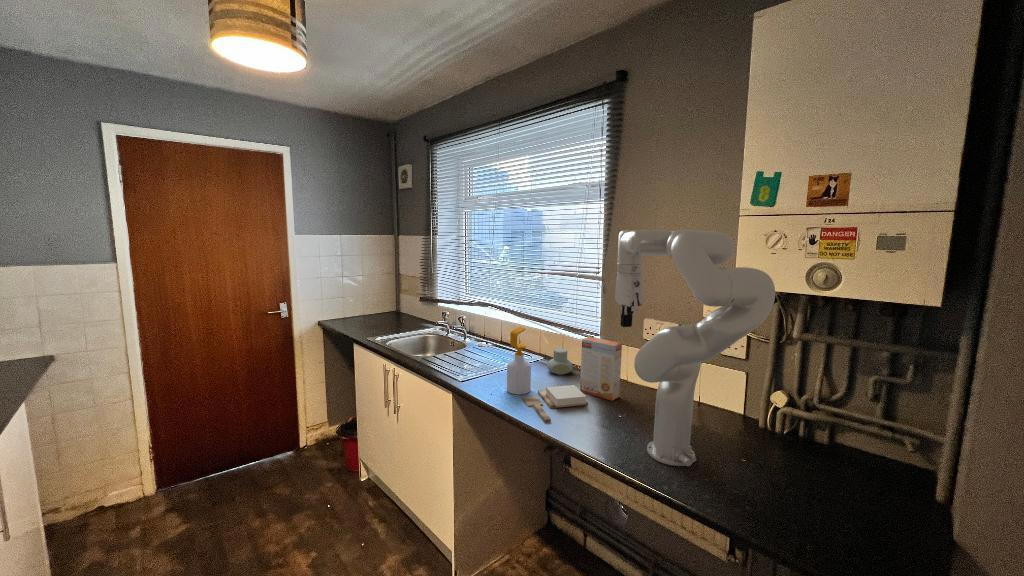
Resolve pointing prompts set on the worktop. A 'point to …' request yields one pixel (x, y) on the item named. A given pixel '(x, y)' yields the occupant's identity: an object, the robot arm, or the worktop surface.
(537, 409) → the wooden turner
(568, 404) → the ceramic tile
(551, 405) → the cork board
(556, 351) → the air freshener
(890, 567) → the worktop surface
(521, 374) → the soap bottle
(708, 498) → the worktop surface
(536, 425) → the worktop surface
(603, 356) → the cracker box
